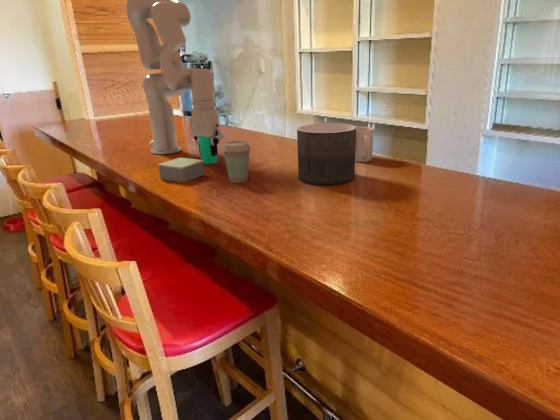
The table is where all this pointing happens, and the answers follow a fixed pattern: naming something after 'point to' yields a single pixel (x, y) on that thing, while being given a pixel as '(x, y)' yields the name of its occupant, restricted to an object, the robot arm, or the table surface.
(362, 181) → the table surface
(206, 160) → the candle
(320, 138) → the planter
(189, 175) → the pedestal
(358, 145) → the mug
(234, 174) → the coffee cup
